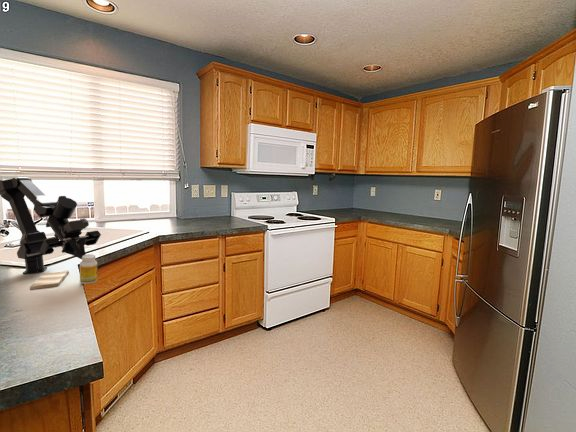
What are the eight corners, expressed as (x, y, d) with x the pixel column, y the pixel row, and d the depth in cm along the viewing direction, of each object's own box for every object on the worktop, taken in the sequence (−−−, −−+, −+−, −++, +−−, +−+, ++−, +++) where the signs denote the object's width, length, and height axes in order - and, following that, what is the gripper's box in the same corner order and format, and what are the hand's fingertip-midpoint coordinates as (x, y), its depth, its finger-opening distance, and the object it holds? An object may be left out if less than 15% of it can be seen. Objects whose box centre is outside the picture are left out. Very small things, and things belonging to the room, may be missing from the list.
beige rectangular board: (44, 275, 120) (43, 273, 119) (68, 272, 123) (68, 270, 123) (30, 289, 105) (29, 286, 105) (58, 285, 108) (58, 283, 108)
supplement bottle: (78, 280, 112) (77, 254, 110) (94, 277, 116) (94, 252, 114) (82, 285, 108) (81, 259, 107) (99, 282, 112) (99, 257, 110)
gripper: (40, 215, 103) (64, 250, 100) (95, 209, 120) (117, 239, 117) (30, 237, 107) (53, 271, 104) (84, 229, 124) (105, 257, 121)
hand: (84, 258), depth 111 cm, fingers closed, pressing on supplement bottle
